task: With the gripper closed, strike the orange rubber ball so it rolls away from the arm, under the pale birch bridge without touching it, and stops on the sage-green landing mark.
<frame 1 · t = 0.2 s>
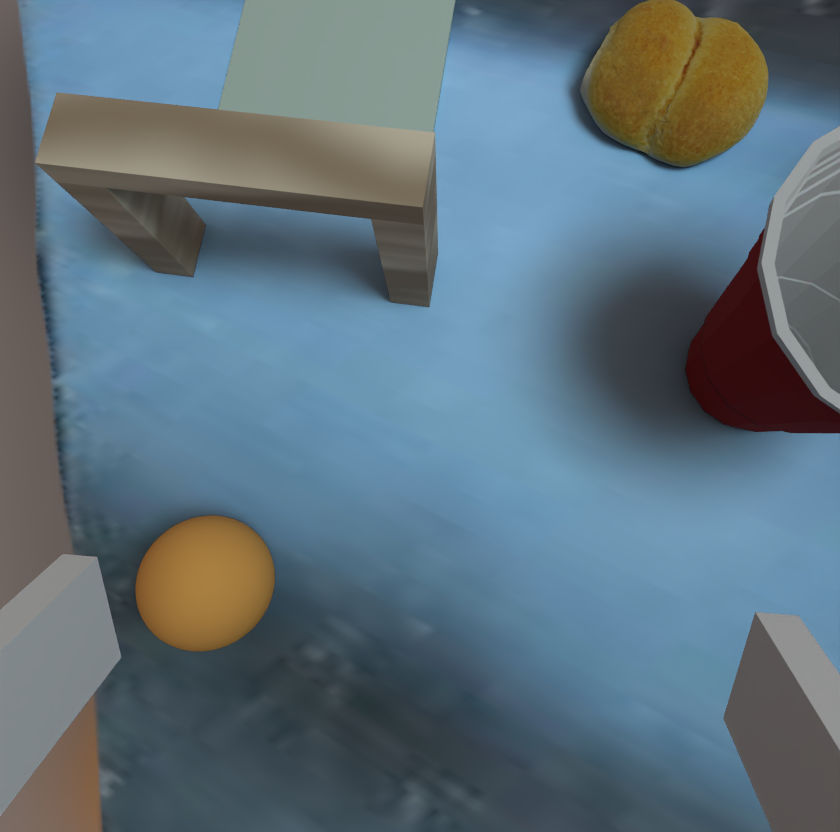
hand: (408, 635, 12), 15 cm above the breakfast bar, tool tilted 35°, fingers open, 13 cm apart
bread roll: (659, 104, 32), on the breakfast bar
bridge: (296, 262, 30), on the breakfast bar
plastic cup: (744, 378, 28), on the breakfast bar
landing mark: (343, 35, 33), on the breakfast bar
ball: (207, 581, 24), on the breakfast bar
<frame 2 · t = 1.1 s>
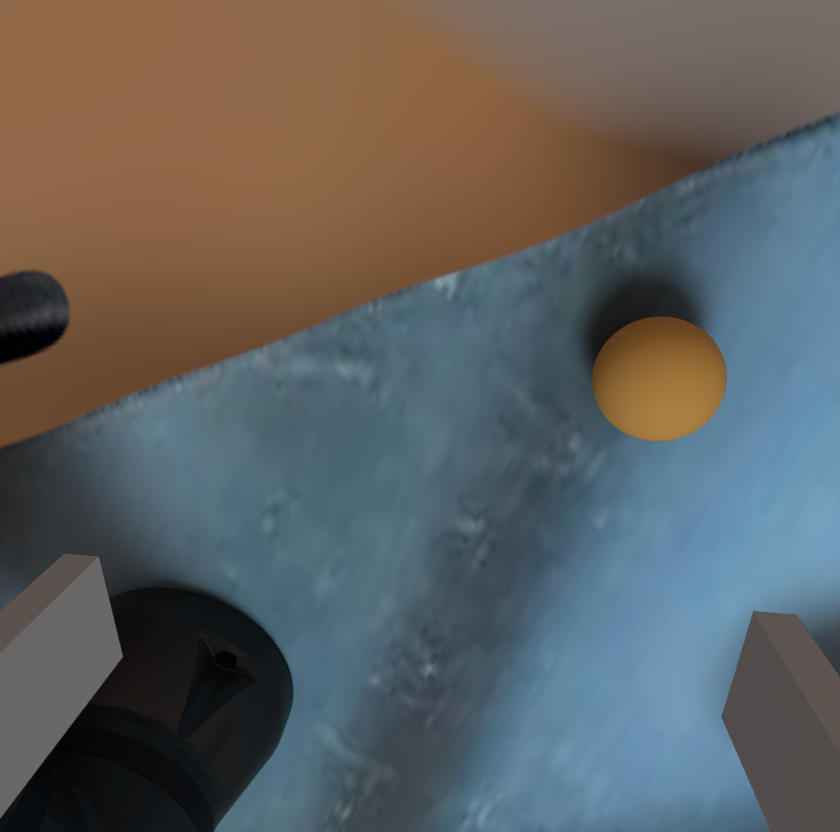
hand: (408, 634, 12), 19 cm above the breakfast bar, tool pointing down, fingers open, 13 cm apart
ball: (656, 379, 26), on the breakfast bar
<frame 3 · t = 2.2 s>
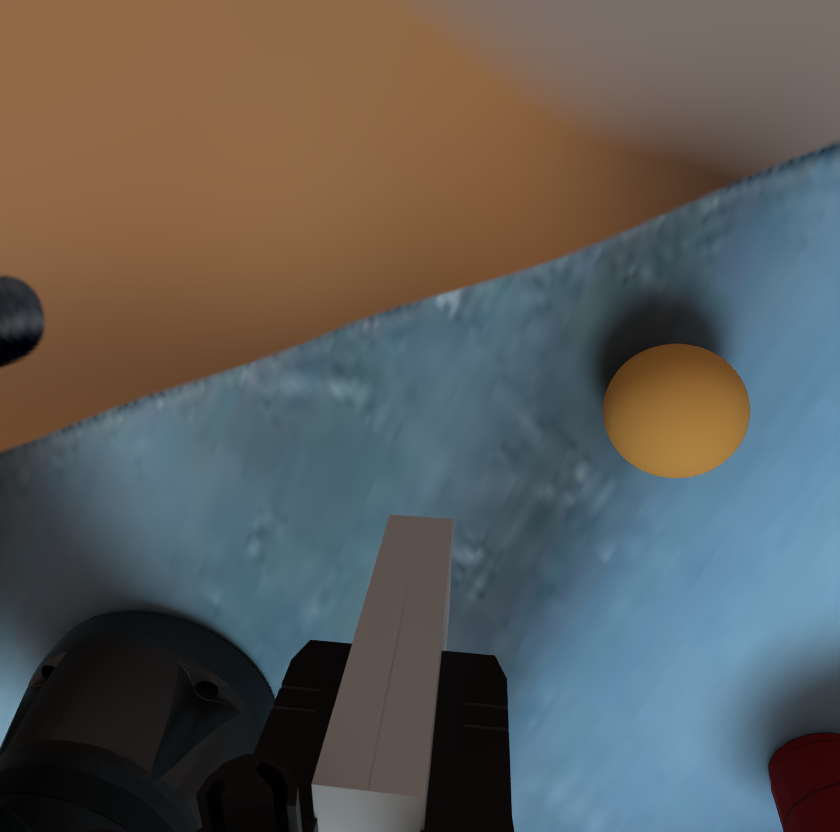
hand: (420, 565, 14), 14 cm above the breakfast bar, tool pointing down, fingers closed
plastic cup: (813, 764, 34), on the breakfast bar
ball: (673, 410, 24), on the breakfast bar
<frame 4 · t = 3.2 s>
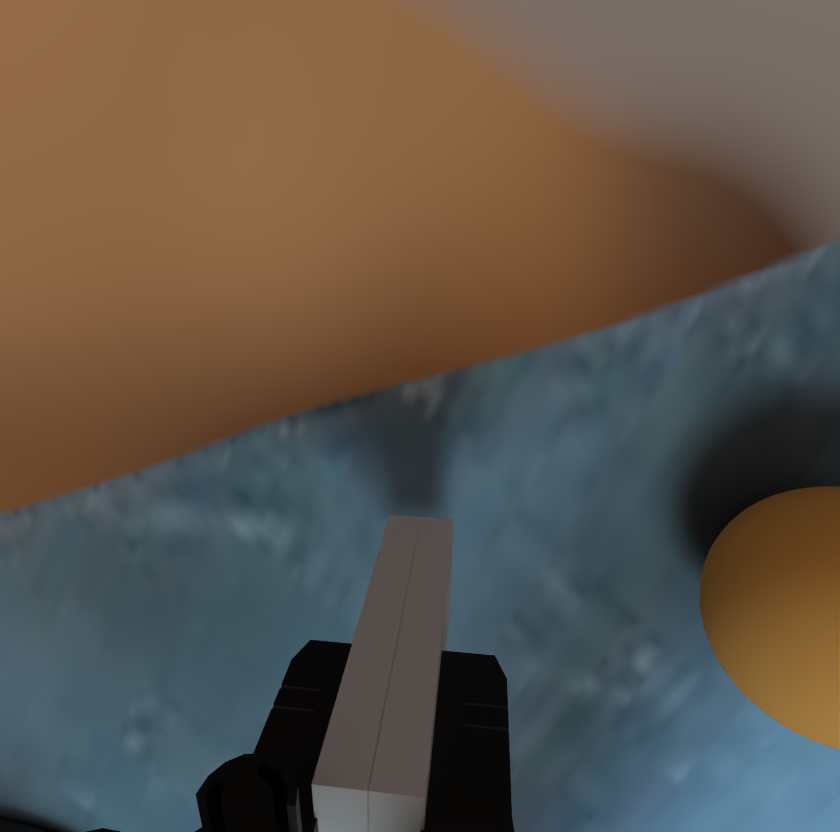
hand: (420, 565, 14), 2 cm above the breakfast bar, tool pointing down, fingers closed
ball: (837, 611, 13), on the breakfast bar
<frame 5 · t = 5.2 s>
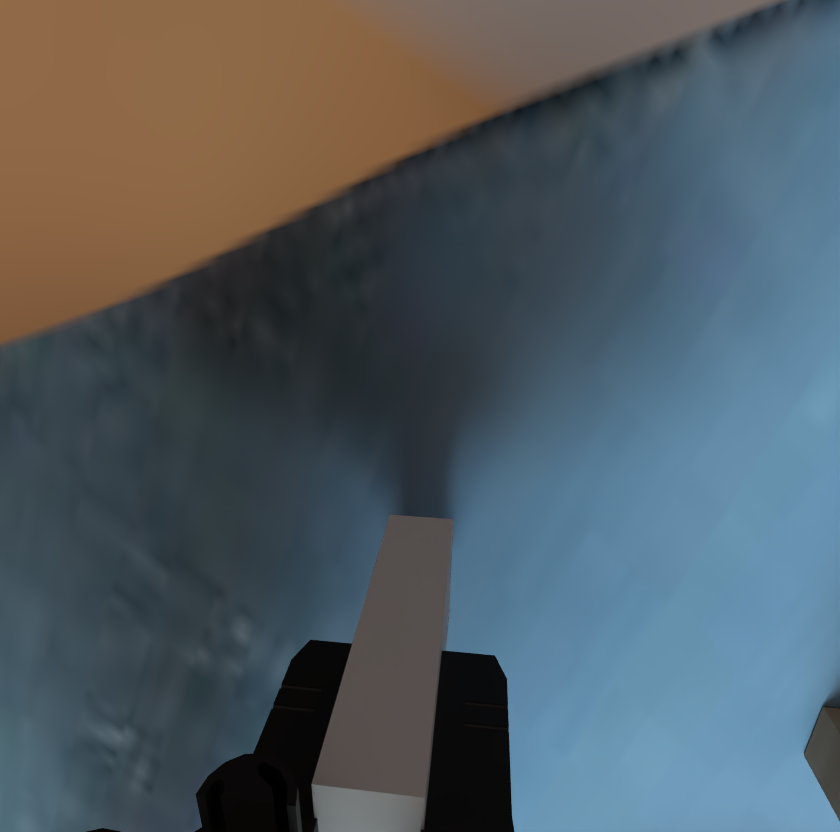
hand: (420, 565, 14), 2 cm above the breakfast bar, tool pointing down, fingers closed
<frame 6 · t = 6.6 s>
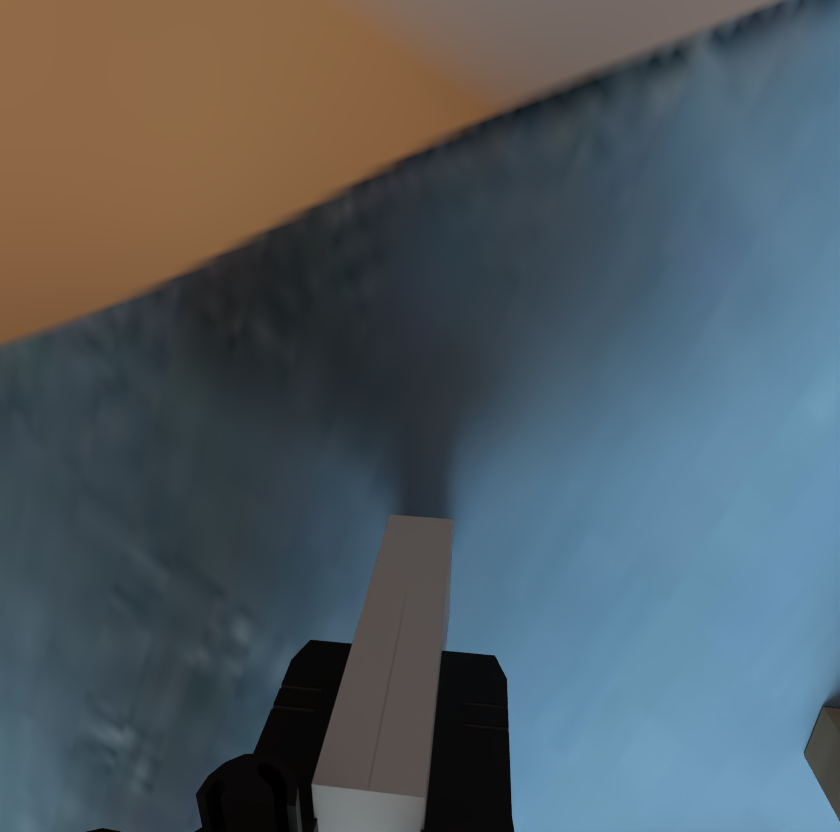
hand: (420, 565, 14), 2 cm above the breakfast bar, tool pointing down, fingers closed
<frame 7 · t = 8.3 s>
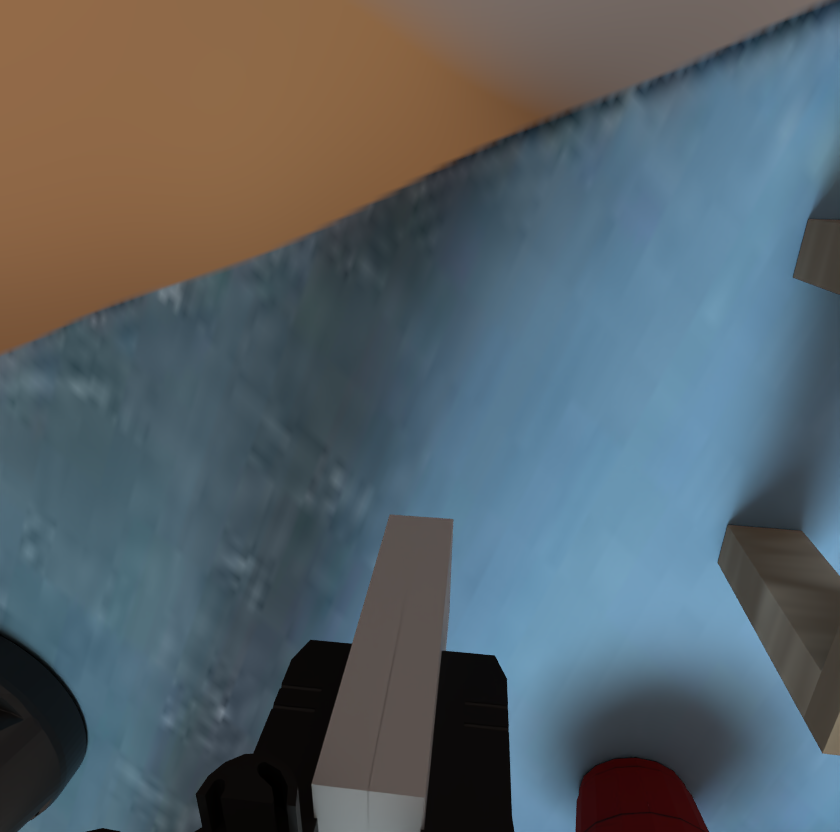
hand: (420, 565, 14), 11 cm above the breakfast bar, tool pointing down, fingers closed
bridge: (797, 414, 23), on the breakfast bar
plastic cup: (626, 789, 32), on the breakfast bar
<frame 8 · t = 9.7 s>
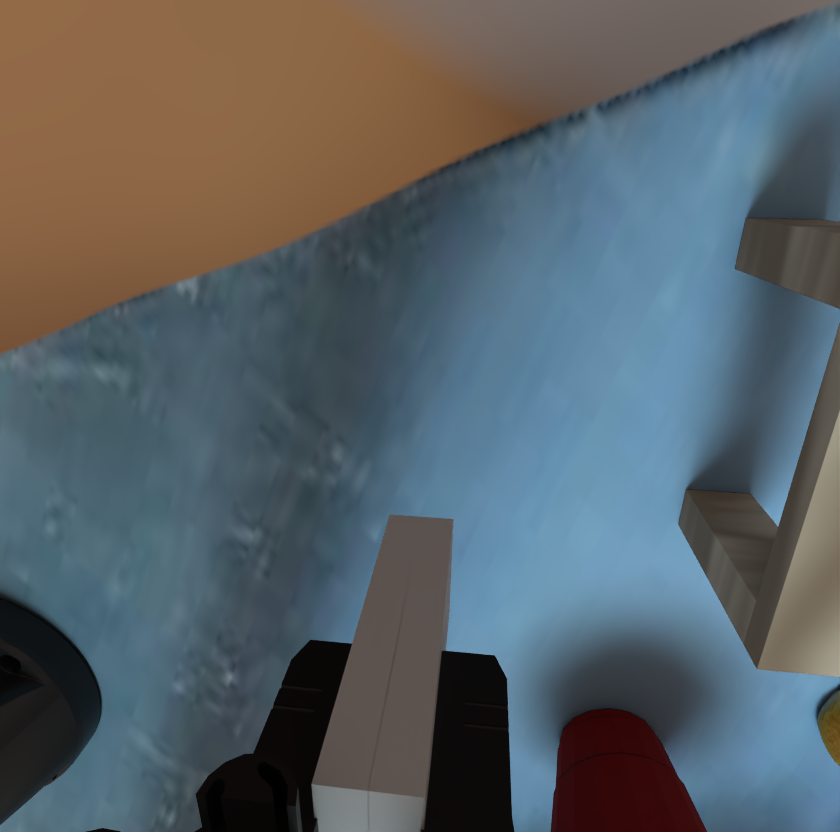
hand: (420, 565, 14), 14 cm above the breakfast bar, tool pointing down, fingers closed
bridge: (743, 389, 26), on the breakfast bar
plastic cup: (603, 740, 35), on the breakfast bar
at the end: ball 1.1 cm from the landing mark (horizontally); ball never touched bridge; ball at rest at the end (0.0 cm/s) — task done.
